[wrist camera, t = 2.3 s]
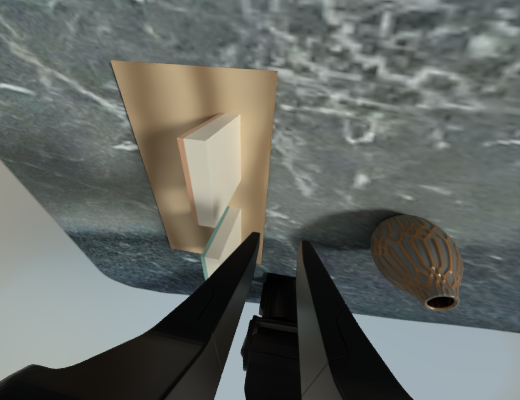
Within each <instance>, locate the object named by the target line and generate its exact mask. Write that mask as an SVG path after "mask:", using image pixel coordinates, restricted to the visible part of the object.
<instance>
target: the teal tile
mask: <svg viewBox="0 0 520 400" xmlns="http://www.w3.org/2000/svg"><path fill="white" fill-rule="evenodd" d="M240 244H241V208H237V207H230V206H227V207H226V209H225V211H224V213H223V215H222V217H221V219H220V221H219V223H218V224H217V226H216V228H215V230H214V232H213V234H212V236H211V238H210V239H209V241H208V243H207V245H206V247H205V249H204V251H203V253H202V255H201V261H202V266H203V271H204V276H205V281H206V280H207V279H208V278H209V277H210V276H211V274H212V273H213V272H214V271H215V270H216V269H217V268H218V267H219V266H220V265H221V264H222V263H223V262H224V261H225V260H226V259H227V258H228V257H229V256H230V255H231V253H232V252H233V251H234V250H235V249H236V248H237V247H238V246H239V245H240Z"/></svg>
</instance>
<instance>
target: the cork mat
mask: <svg viewBox="0 0 520 400" xmlns="http://www.w3.org/2000/svg"><path fill="white" fill-rule="evenodd" d="M111 64H112V67H113V70H114V73H115V76H116V79H117V82H118V85H119V88H120V91H121V95H122V98H123V101H124V104H125V107H126V110H127V113H128V116H129V119H130V122H131V125H132V128H133V132H134V135H135V138H136V141H137V144H138V147H139V150H140V153H141V156H142V159H143V162H144V166H145V169H146V172H147V175H148V178H149V181H150V184H151V187H152V190H153V193H154V196H155V200H156V203H157V206H158V209H159V212H160V215H161V218H162V221H163V224H164V227H165V230H166V233H167V237H168V240H169V243H170V246H171V248H173V249H179V250H184V251H190V252H195V253H201V254H202V253H203V251H204V249H205V247H206V245H207V243H208V241H209V239H210V238H211V236H212V234H213V232H214V230H215V228H213V227H207V226H201V225H194V221H193V216H192V211H191V206H190V201H189V196H188V191H187V186H186V181H185V176H184V171H183V166H182V161H181V156H180V151H179V146H178V141H177V137H179V136H181V135H183V134H185V133H186V132H188V131H190V130H192V129H193V128H195V127H197V126H199V125H201V124H202V123H204V122H206V121H208V120H210V119H211V118H213V117H215V116H217V115H218V114H220V113H230V114H240V153H241V181H240V183H239V185H238V186H237V188H236V190H235V192H234V194H233V196H232V198H231V200H230V201H229V203H228V205H227V206H230V207H237V208H241V243H242V242H243V241H244V240H245V239H246V238H247V237H248V236H249V235H250V234H251V233H252V232H259V233H260V245H259V251H258V256H257V261H256V263H257V264H261V258H262V247H263V235H264V223H265V212H266V200H267V189H268V177H269V165H270V154H271V142H272V131H273V119H274V107H275V96H276V84H277V73H278V71H267V70H251V69H236V68H220V67H205V66H189V65H174V64H158V63H143V62H127V61H111ZM220 219H221V218H220ZM219 221H220V220H219ZM218 223H219V222H218Z"/></svg>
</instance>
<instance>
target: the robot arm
mask: <svg viewBox="0 0 520 400" xmlns="http://www.w3.org/2000/svg"><path fill="white" fill-rule="evenodd" d="M259 245H260V233H259V232H252V233H251V234H250V235H249V236H248V237H247V238H246V239H245V240H244V241H243V242H242V243H241V244H240V245H239V246H238V247H237V248H236V249H235V250H234V251H233V252H232V253H231V255H230V256H229V257H228V258H227V259H226V260H225V261H224V262H223V263H222V264H221V265H220V266H219V267H218V268H217V269H216V270H215V271H214V272H213V273H212V274H211V276H210V277H209V278H208V279H207V280H206V281H205V282H204V283H203V284H202V285H201V286H200V287H199V288H198V289H197V290H196V291H195V292H194V293H193V294H191V295H190V296H189V297H188V298H187V299H186V300H185V301H184V302H182V303H181V304H180V305H179V306H178V307H176V308H175V309H174V310H173V311H172V312H171V313H169V314H168V315H167V316H166V317H165V318H164V319H162V321H160V322H159V323H158V324H157V325H155V326H154V327H153V328H151V329H150V330H148V331H147V332H145V333H144V334H142V335H140V336H138V337H136V338H134V339H132V340H129V341H127V342H125V343H123V344H120V345H118V346H116V347H114V348H112V349H109V350H107V351H105V352H103V353H101V354H98V355H96V356H94V357H92V358H90V359H88V360H85V361H83V362H81V363H78V364H75V365H73V366H69V367H66V368H60V369H51V368H48V367H44V366H40V365H35V364H32V365H29V366H27V367H25V368H23V369H21V370H19V371H17V372H15V373H13V374H11V375H9V376H8V377H6V378H4V379H3V380H1V381H0V400H214V397H215V394H216V391H217V388H218V385H219V382H220V379H221V375H222V373H223V369H224V366H225V363H226V360H227V357H228V354H229V351H230V348H231V345H232V341H233V338H234V335H235V332H236V329H237V326H238V323H239V319H240V316H241V313H242V310H243V307H244V304H245V301H246V298H247V295H248V292H249V289H250V285H251V282H252V279H253V276H254V272H255V267H256V261H257V256H258V251H259ZM259 315H261V316H262V317H258V316H256V315H254V316H253V319H252V320H250V322H249V327H248V332H247V335H246V338H245V340H244V343H243V346H242V349H241V355H242V357H243V370H244V371H247V372H246V379H245V386H244V391H245V397H246V400H413V398H412V397H411V396H409V394H408V393H407V392H406V391H405V390H404V389H403V387H402V386H401V385H400V383H399V382H398V381H397V380H396V378H395V377H394V375H393V374H392V373H391V371H390V370H389V368H388V367H387V365H386V364H385V362H384V361H383V360H382V358H381V357H380V355H379V354H378V353H377V351H376V350H375V348H374V347H373V345H372V344H371V343H370V341H369V340H368V338H367V337H366V335H365V334H364V332H363V331H362V329H361V328H360V326H359V325H358V323H357V322H356V320H355V318H354V317H353V315H352V313H351V312H350V310H349V308H348V306H347V305H346V304H345V301H344V300H343V298H342V296H341V294H340V293H339V291H338V289H337V287H336V286H335V284H334V282H333V281H332V279H331V277H330V275H329V274H328V272H327V270H326V268H325V267H324V265H323V263H322V262H321V260H320V258H319V256H318V255H317V253H316V251H315V249H314V248H313V246H312V244H311V243H310V241H309V240H303V239H302V240H301V241H300V245H299V249H298V256H297V270H296V278H291V277H286V276H280V275H275V274H268V275H267V283H266V282H265V283H263V289H262V295H261V301H260V307H259Z"/></svg>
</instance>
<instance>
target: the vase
mask: <svg viewBox="0 0 520 400" xmlns="http://www.w3.org/2000/svg"><path fill="white" fill-rule="evenodd" d="M370 247H371V253H372V257H373V259H374V262H375V264H376V266H377V268H378V269H379V271H380V272H381V273H382V275H383V276H384V277H385V278H386V279H387V280H388V281H389V282H390V283H391V284H392V285H394V286H395V287H397V288H398V289H400V290H402V291H403V292H405V293H407V294H408V295H410V296H412V297H414V298H415V299H416V300H418V301H419V302H420V303H421V304H422V305H423V306H424V307H425V308H427V309H430V310H434V311H445V310H450V309H453V308H455V307H456V306H458V305H459V303H460V299H459V286H460V283H461V279H462V275H463V261H462V257H461V255H460V252H459V250H458V248H457V246H456V244H455V243H454V241H453V240H452V239H451V238H450V237H449V236H448V235H447V234H446V233H445V232H444V231H443V230H442V229H441V228H440V227H438V226H437V225H435V224H434V223H432V222H430V221H428V220H426V219H423V218H421V217H417V216H411V215H399V216H394V217H390V218H388V219H386V220H384V221H382V222H381V223H380V224H379V225H378V226H377V227H376V228H375V230H374V231H373V233H372V236H371V242H370Z"/></svg>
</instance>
